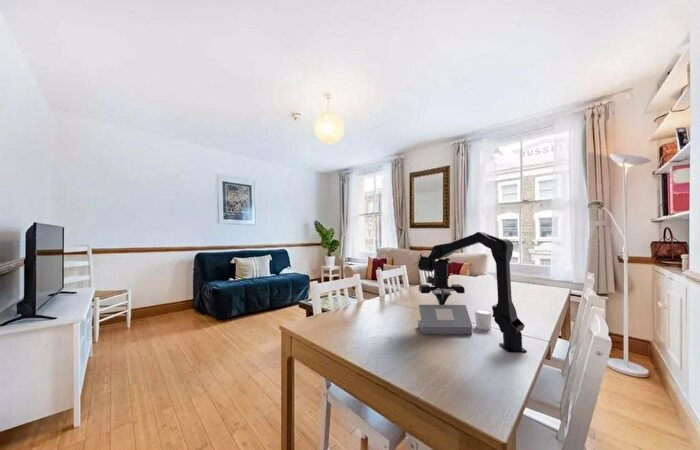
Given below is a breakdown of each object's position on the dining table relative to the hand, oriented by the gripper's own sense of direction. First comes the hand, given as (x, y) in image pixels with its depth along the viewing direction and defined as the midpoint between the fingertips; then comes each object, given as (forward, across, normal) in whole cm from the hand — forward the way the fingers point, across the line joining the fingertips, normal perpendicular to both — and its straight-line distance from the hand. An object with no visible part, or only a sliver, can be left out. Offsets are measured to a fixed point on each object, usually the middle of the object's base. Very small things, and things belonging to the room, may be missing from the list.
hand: (441, 308), depth 119 cm
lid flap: (+2, 0, +5) cm, 5 cm away
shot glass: (+9, -19, -1) cm, 21 cm away
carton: (+9, 0, +4) cm, 9 cm away
